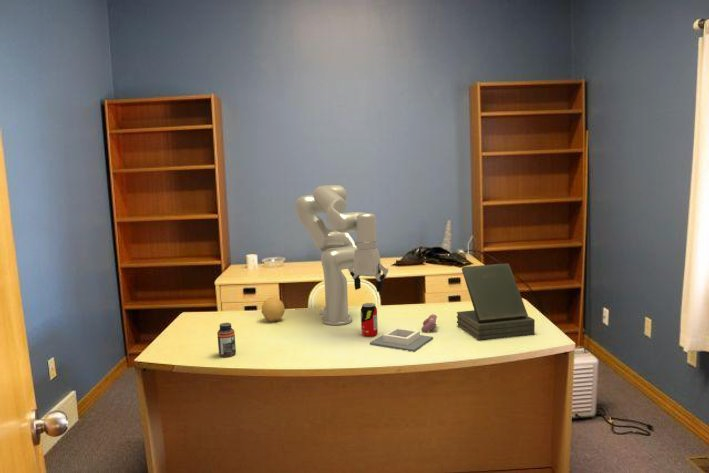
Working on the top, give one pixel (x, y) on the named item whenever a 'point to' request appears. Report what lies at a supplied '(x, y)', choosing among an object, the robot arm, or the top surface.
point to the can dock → (402, 339)
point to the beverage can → (369, 320)
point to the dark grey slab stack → (494, 304)
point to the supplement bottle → (226, 340)
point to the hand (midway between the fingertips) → (368, 290)
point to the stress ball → (273, 309)
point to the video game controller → (429, 323)
